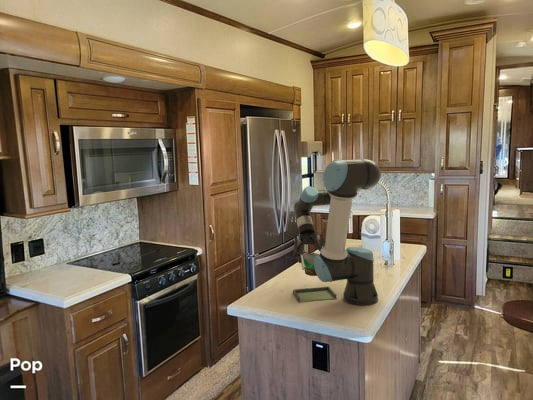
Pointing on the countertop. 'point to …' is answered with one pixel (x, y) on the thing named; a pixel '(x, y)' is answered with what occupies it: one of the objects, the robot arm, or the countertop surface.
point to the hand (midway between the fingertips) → (314, 267)
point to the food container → (309, 263)
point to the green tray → (314, 294)
